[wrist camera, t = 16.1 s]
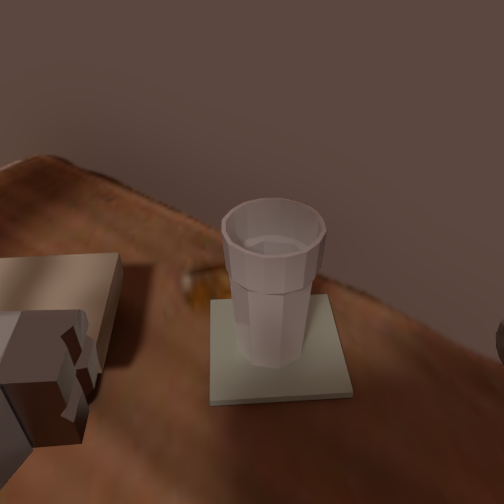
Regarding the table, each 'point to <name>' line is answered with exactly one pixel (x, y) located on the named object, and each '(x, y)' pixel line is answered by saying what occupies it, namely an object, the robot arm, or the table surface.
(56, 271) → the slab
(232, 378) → the pad
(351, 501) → the table surface
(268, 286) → the cup
